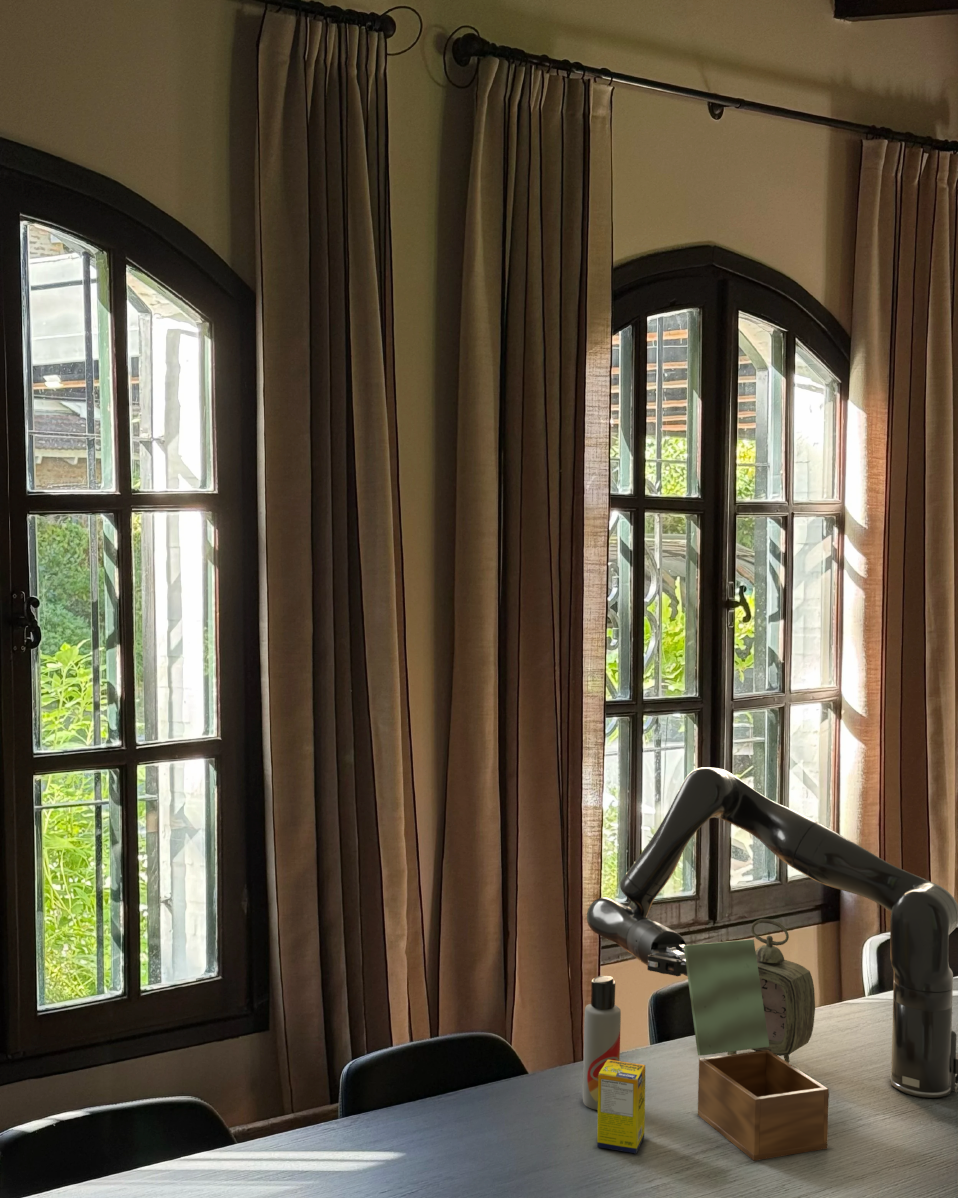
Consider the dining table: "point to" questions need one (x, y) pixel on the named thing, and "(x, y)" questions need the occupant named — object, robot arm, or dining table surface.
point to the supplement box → (621, 1106)
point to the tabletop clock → (784, 997)
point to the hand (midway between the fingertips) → (706, 975)
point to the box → (763, 1104)
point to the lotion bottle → (599, 1035)
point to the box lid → (726, 996)
